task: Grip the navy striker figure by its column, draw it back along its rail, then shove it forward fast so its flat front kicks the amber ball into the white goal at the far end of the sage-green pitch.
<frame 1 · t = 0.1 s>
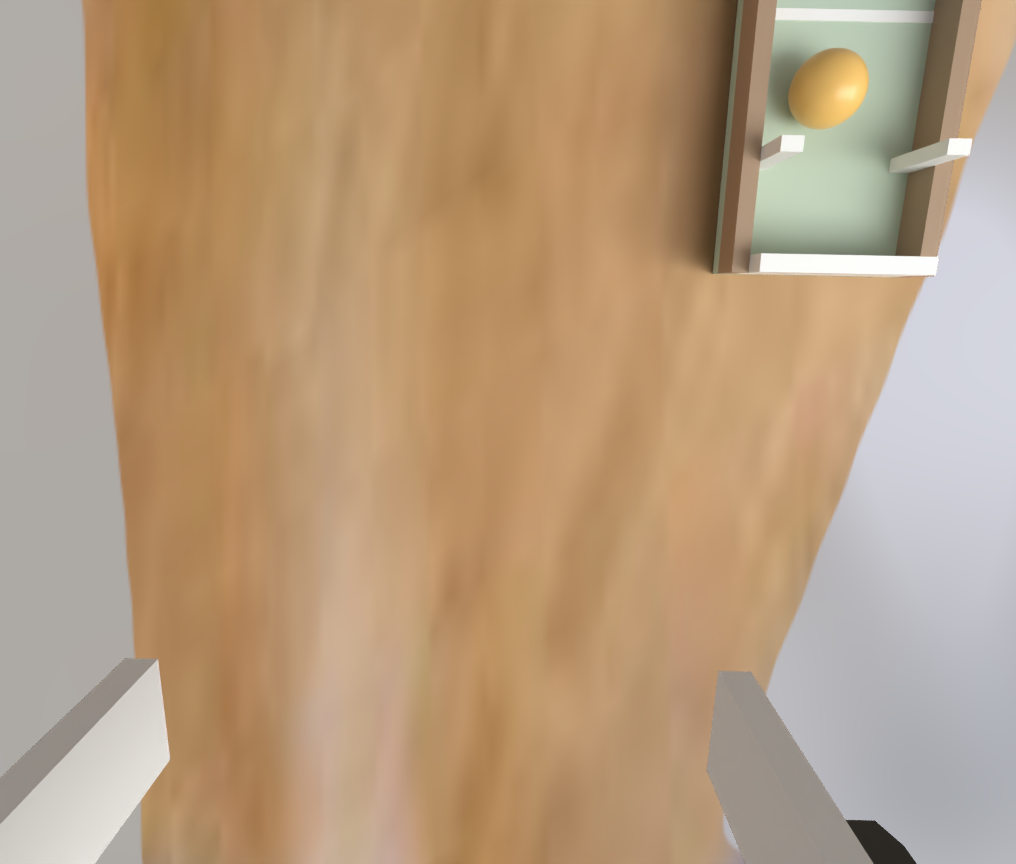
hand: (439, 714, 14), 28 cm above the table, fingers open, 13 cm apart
pitch: (834, 42, 36), on the table
ball: (827, 89, 34), point 3 cm above the table, touching pitch
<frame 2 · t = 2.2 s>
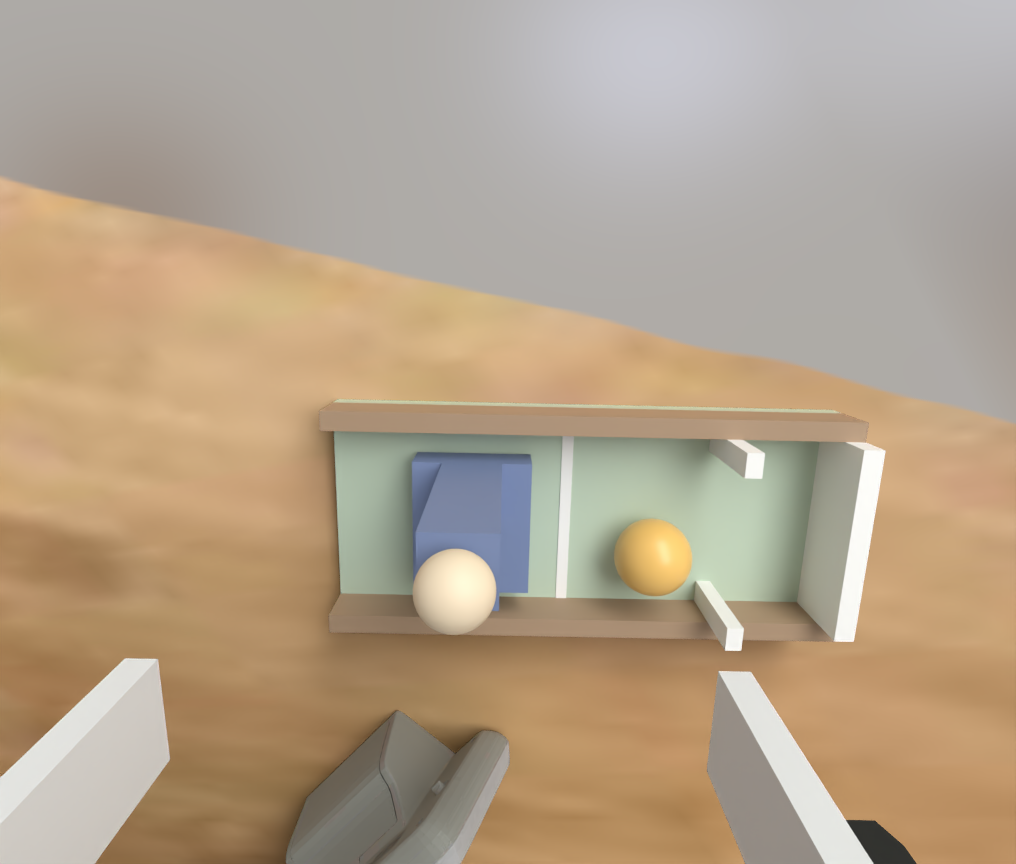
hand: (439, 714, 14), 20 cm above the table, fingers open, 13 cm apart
pitch: (580, 508, 34), on the table
ball: (652, 556, 32), point 3 cm above the table, touching pitch
striker: (465, 572, 26), point 8 cm above the table, slide at 0.0 cm
digital clock: (402, 787, 39), on the table
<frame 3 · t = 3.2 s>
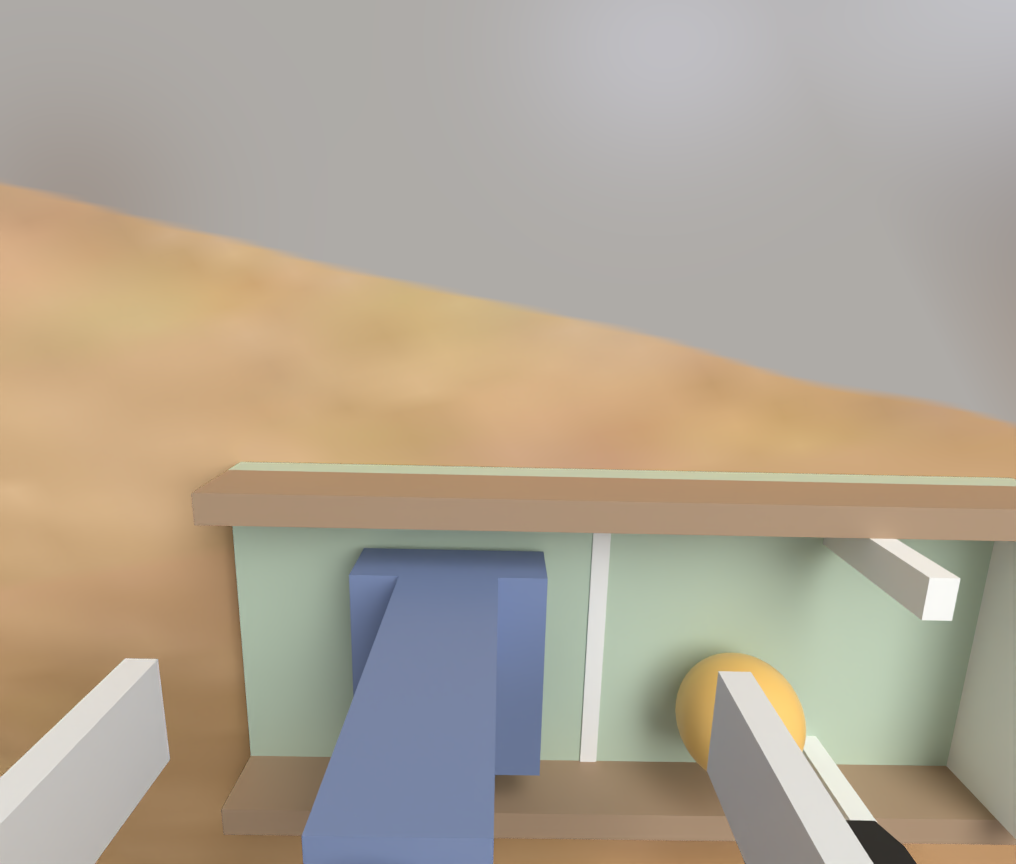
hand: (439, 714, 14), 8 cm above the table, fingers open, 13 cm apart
pitch: (618, 625, 22), on the table
ball: (738, 717, 20), point 3 cm above the table, touching pitch
striker: (429, 808, 14), point 8 cm above the table, slide at 0.0 cm
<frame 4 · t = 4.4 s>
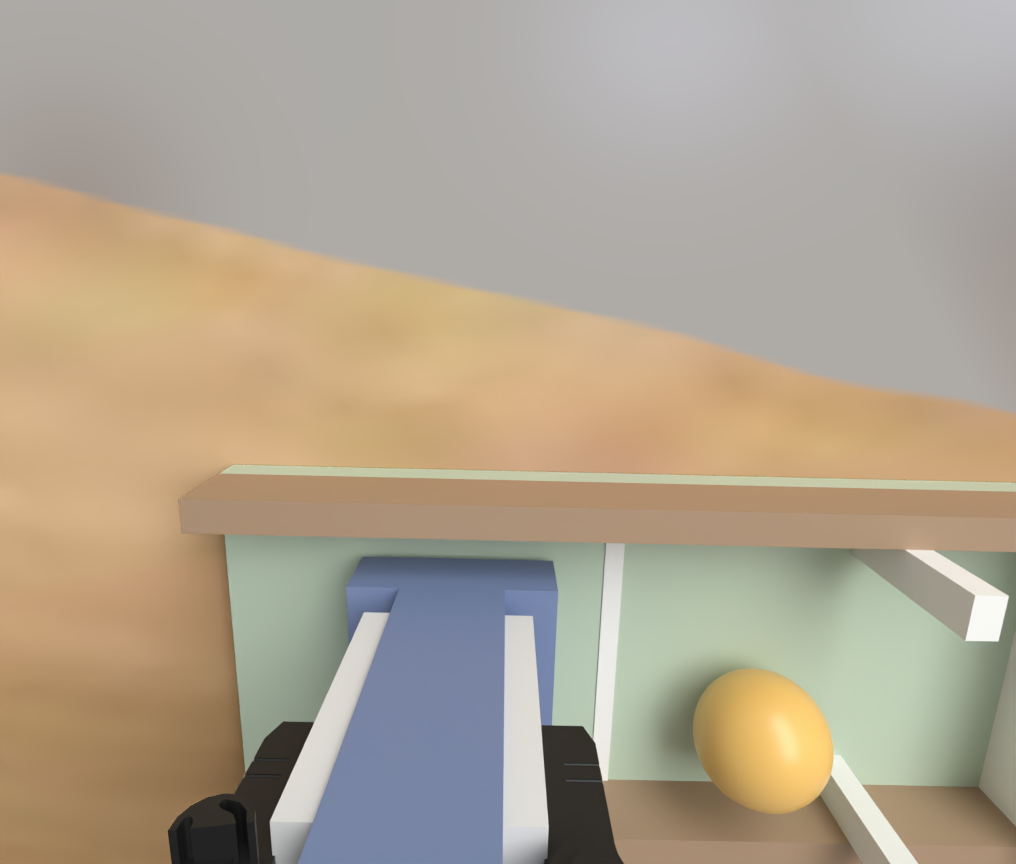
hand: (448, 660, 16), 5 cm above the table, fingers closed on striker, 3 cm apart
pitch: (631, 637, 21), on the table
ball: (760, 737, 19), point 3 cm above the table, touching pitch
striker: (431, 844, 13), point 8 cm above the table, slide at 0.0 cm, touching gripper
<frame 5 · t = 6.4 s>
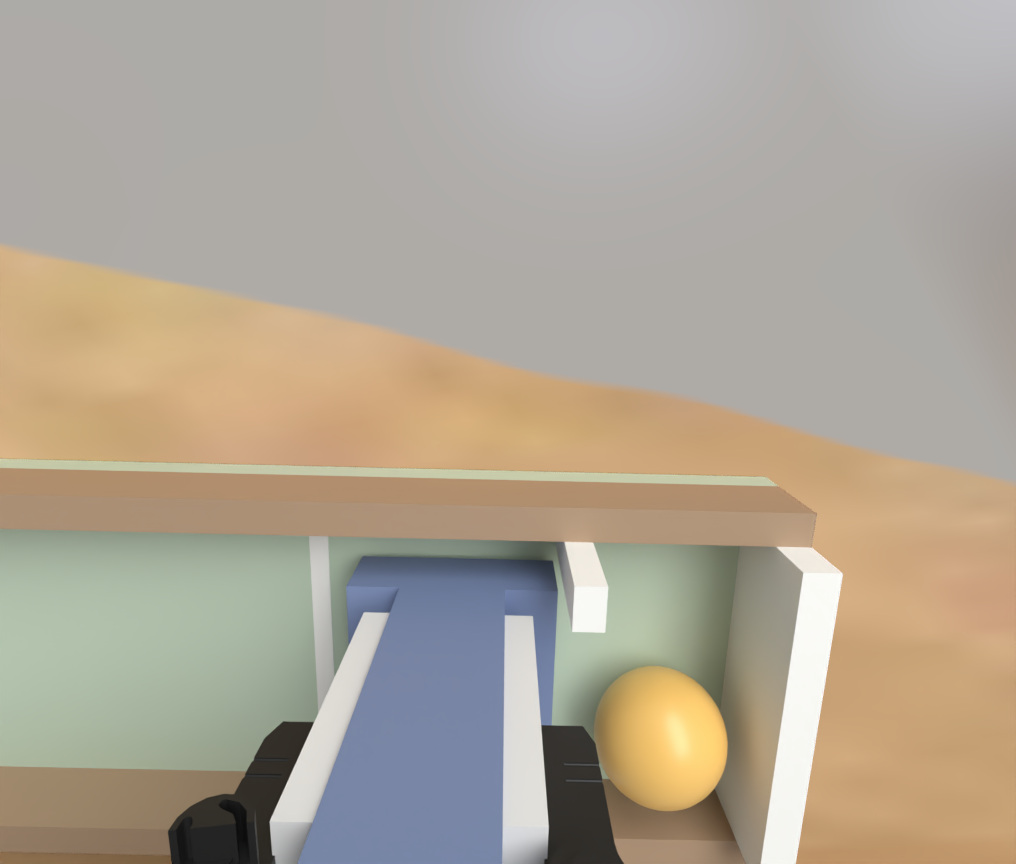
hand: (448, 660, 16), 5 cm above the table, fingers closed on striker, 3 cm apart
pitch: (361, 631, 21), on the table
ball: (659, 735, 19), point 3 cm above the table, tilted 163°, touching pitch
striker: (431, 843, 13), point 8 cm above the table, slide at 9.5 cm, touching gripper
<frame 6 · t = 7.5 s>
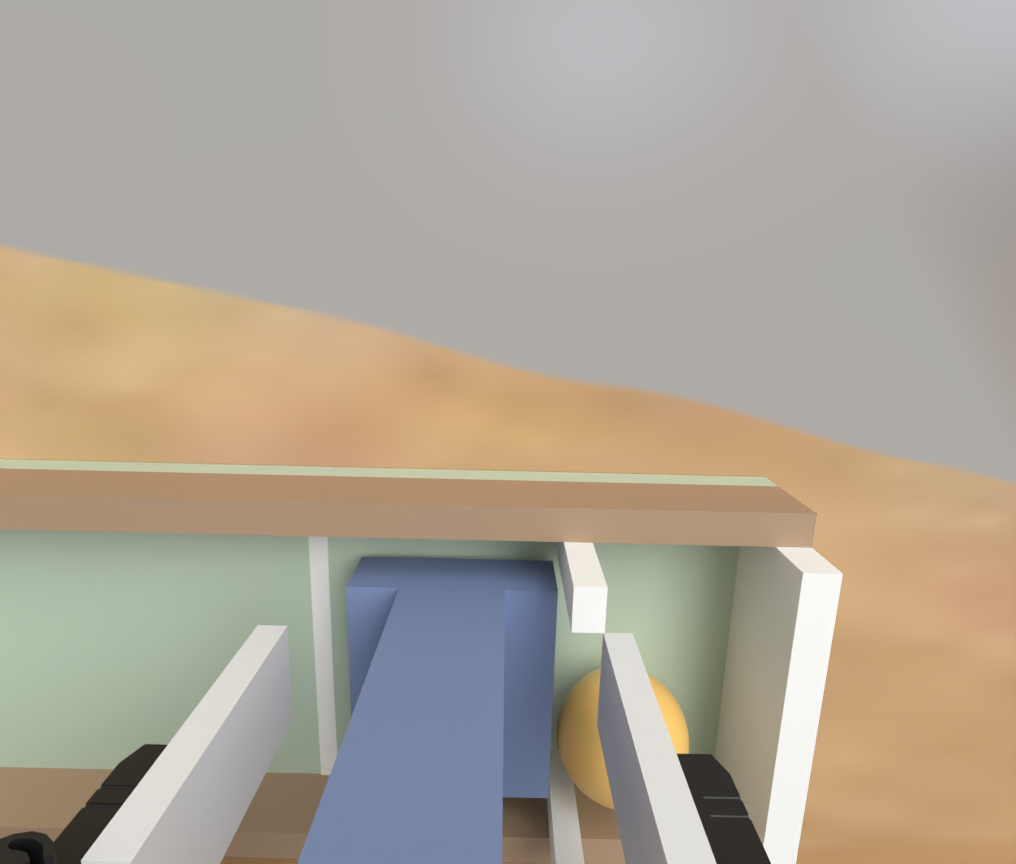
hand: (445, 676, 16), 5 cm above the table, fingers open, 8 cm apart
pitch: (360, 631, 21), on the table
ball: (621, 734, 19), point 3 cm above the table, tilted 130°, touching pitch
striker: (431, 844, 13), point 8 cm above the table, slide at 9.5 cm
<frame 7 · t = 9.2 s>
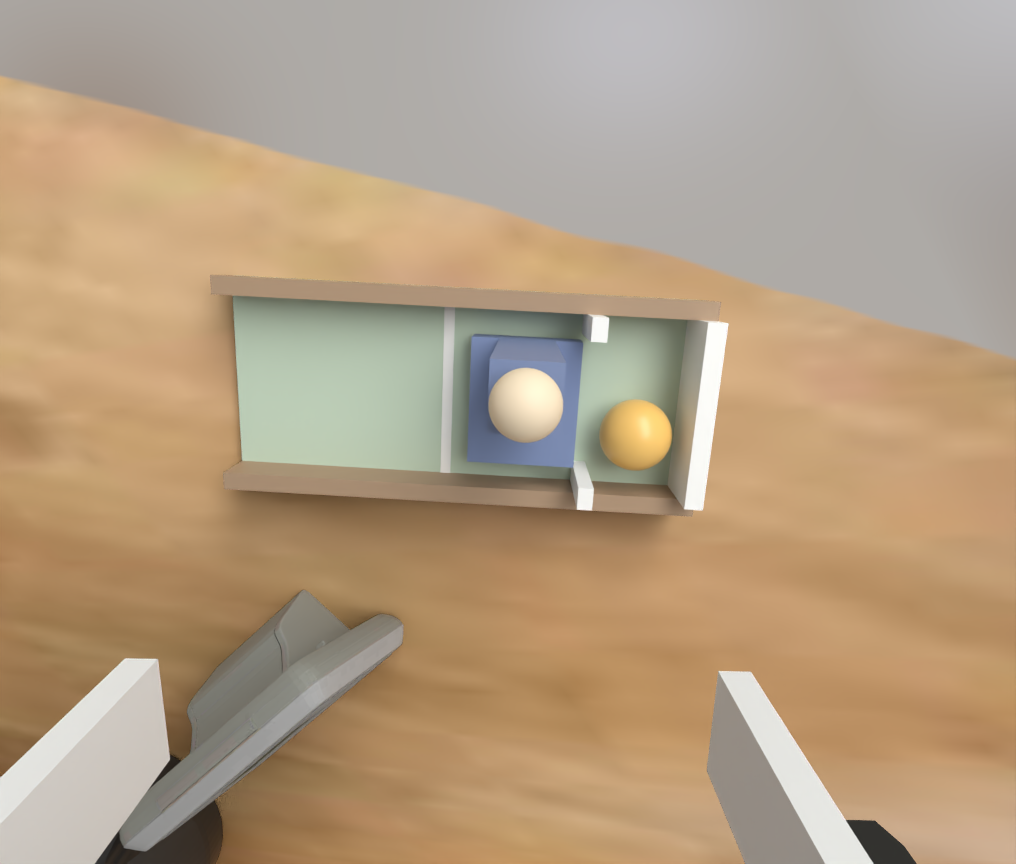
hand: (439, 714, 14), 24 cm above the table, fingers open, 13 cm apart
pitch: (466, 389, 37), on the table
ball: (635, 434, 34), point 3 cm above the table, tilted 162°, touching pitch
striker: (523, 424, 28), point 8 cm above the table, slide at 9.5 cm
digital clock: (306, 664, 42), on the table
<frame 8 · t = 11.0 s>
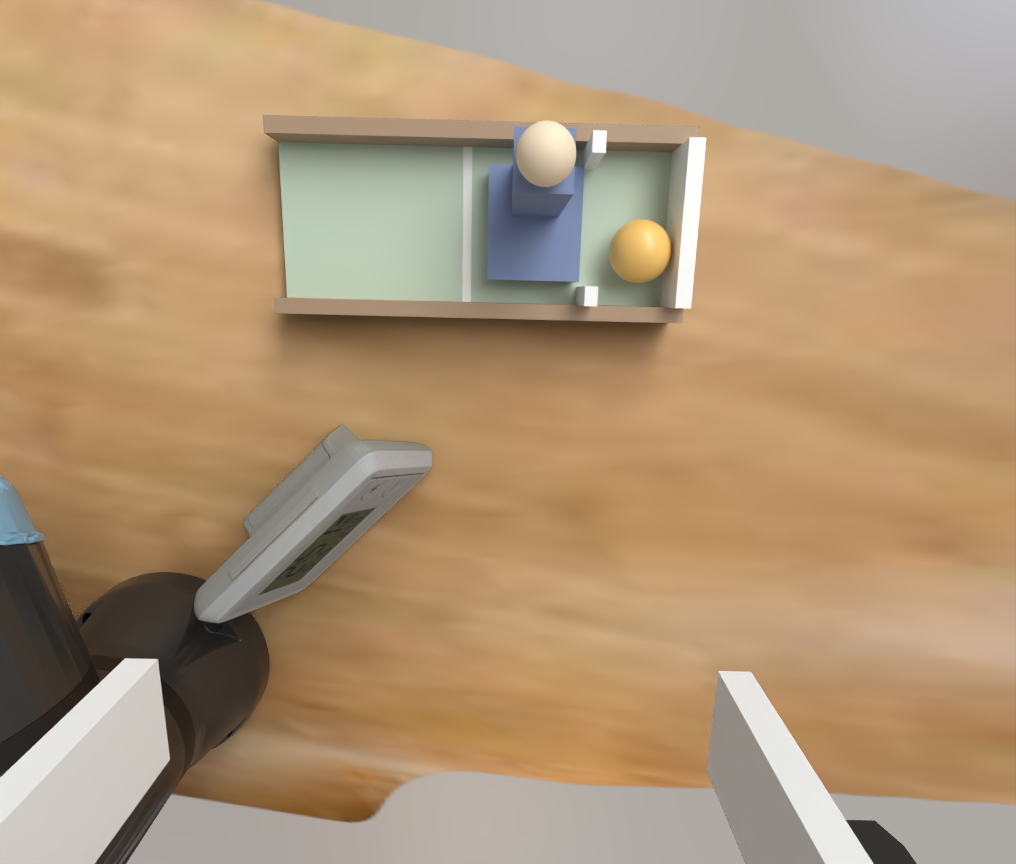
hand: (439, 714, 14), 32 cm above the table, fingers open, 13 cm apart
pitch: (482, 228, 42), on the table
ball: (639, 251, 39), point 3 cm above the table, tilted 179°, touching pitch
striker: (538, 214, 34), point 8 cm above the table, slide at 9.5 cm
digital clock: (344, 498, 47), on the table
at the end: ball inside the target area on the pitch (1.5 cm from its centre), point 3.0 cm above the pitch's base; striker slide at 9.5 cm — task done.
